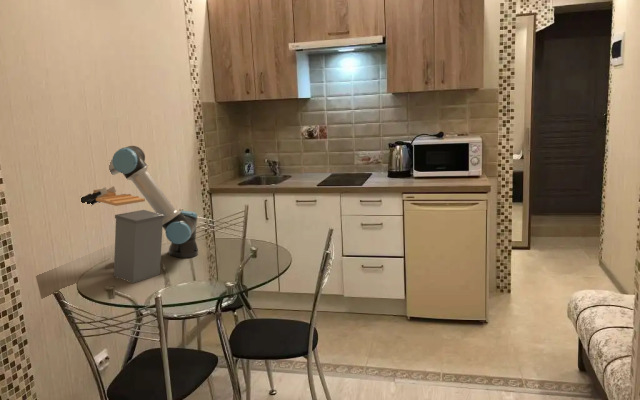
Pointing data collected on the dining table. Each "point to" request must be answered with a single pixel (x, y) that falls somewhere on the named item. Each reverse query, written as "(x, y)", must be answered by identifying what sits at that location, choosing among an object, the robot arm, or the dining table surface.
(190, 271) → the dining table surface
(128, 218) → the tall grey box
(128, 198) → the lid
